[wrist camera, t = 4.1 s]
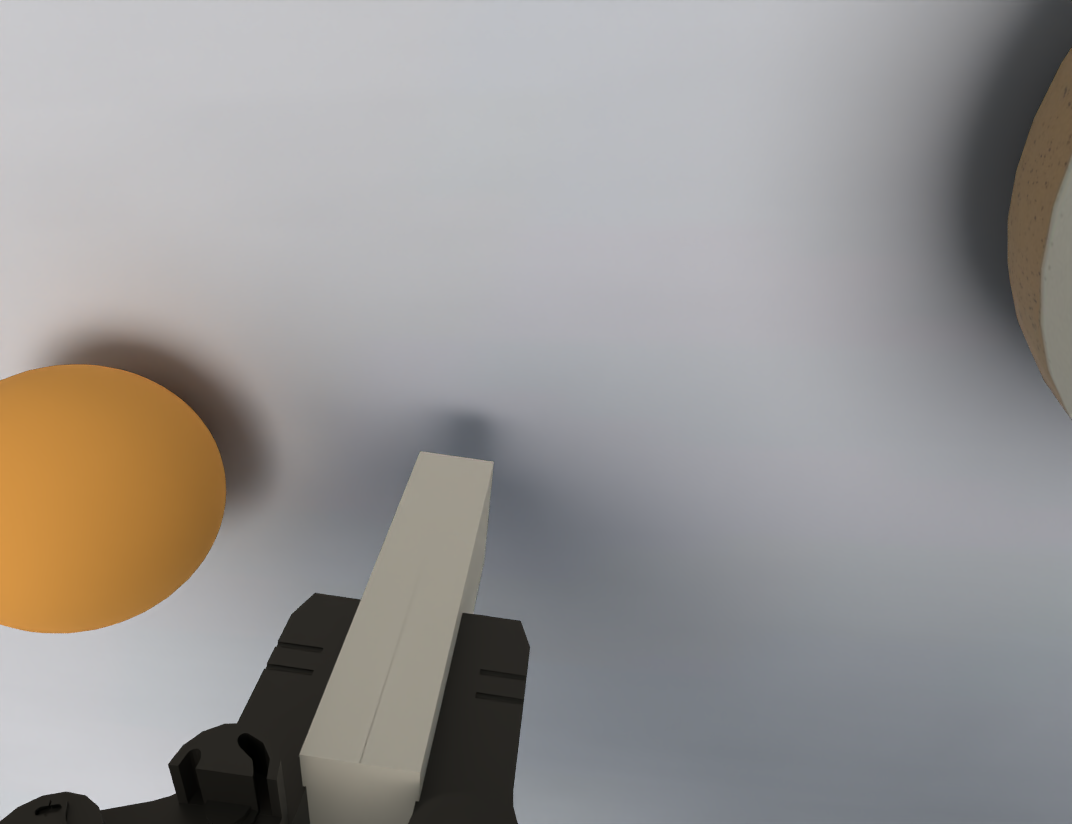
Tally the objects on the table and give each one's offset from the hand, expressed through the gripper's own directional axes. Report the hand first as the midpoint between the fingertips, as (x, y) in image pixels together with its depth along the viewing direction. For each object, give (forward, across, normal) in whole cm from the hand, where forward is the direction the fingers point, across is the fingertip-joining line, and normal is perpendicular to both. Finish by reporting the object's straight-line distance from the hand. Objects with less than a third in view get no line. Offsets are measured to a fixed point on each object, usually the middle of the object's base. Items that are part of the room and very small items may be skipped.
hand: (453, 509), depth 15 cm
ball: (0, +8, +1) cm, 8 cm away
